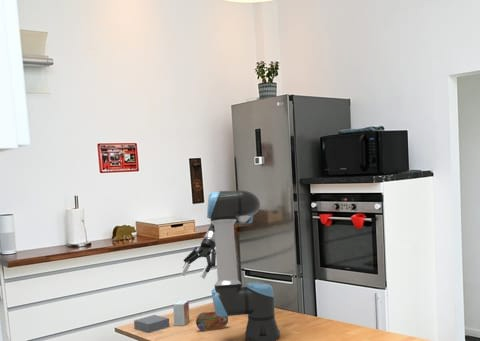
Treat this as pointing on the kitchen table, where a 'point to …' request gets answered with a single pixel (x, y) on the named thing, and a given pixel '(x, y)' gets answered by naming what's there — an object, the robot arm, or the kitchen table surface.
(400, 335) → the kitchen table surface
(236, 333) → the kitchen table surface
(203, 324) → the tin
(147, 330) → the block
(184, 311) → the white upright block
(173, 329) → the kitchen table surface
